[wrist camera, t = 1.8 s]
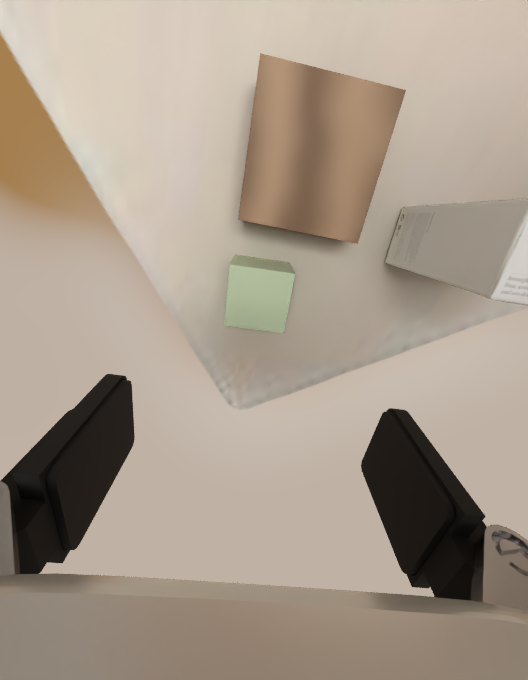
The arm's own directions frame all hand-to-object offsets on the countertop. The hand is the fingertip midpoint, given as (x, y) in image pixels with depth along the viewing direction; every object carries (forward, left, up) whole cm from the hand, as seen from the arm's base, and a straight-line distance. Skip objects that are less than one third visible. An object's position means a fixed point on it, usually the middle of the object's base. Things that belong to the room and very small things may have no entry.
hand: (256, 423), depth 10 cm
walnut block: (-3, -11, -23) cm, 26 cm away
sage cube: (0, +1, -23) cm, 23 cm away
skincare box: (-17, -7, -23) cm, 30 cm away
